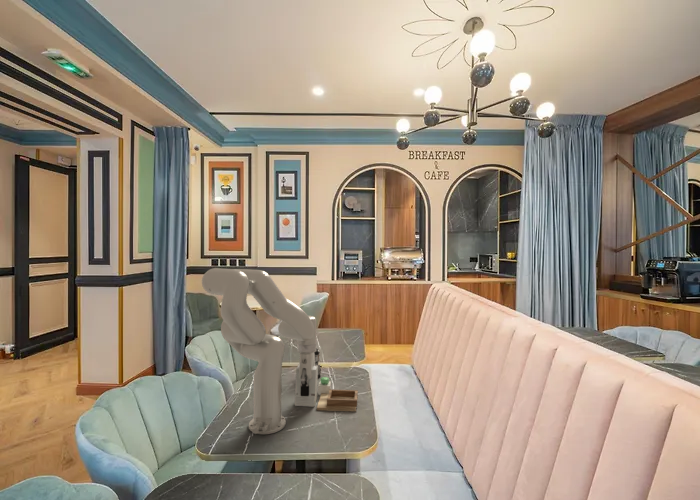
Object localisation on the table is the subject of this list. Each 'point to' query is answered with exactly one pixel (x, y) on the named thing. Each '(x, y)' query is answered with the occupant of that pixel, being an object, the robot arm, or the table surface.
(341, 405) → the wooden display tray
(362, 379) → the table surface
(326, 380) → the button
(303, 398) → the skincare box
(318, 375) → the figurine
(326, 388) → the console
